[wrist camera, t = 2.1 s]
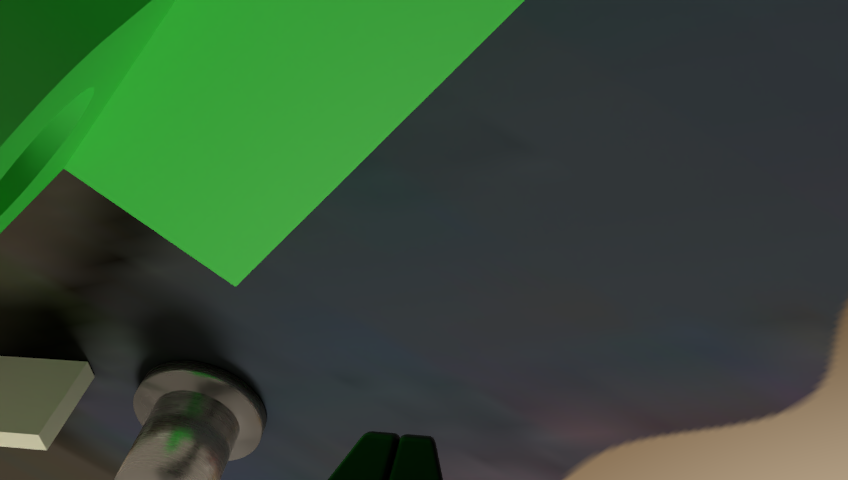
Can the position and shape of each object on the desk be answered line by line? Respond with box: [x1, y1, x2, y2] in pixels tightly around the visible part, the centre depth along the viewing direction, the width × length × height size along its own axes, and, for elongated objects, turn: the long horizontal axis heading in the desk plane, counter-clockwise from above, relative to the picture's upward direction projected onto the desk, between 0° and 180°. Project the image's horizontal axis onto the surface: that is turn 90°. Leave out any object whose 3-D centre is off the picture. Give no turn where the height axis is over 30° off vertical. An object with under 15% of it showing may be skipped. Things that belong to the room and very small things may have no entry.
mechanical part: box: [0, 0, 524, 287], centre depth 10 cm, size 12×6×8 cm, turn 139°
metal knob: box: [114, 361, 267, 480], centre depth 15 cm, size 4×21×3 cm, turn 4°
